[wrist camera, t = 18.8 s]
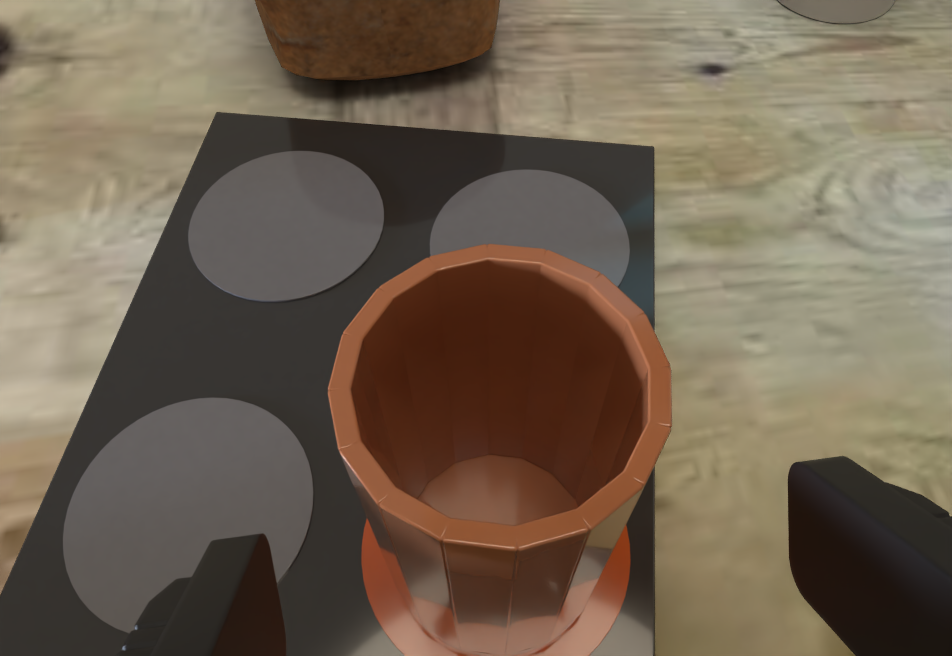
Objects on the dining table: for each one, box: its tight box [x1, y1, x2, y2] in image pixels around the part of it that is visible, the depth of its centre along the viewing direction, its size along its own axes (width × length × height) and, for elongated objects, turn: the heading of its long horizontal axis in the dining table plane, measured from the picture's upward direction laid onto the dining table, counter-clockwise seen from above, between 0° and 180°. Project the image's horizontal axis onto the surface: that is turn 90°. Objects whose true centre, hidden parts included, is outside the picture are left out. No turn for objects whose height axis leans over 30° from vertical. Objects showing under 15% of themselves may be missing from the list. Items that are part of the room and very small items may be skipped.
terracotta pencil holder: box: [328, 244, 672, 656], centre depth 17 cm, size 6×6×10 cm
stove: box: [0, 112, 655, 656], centre depth 25 cm, size 18×22×2 cm
